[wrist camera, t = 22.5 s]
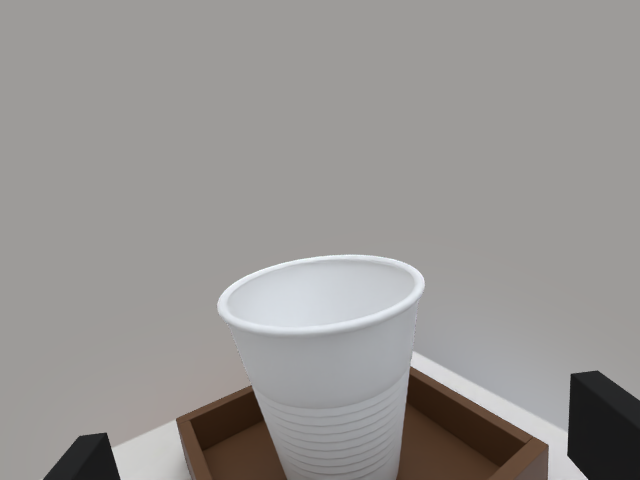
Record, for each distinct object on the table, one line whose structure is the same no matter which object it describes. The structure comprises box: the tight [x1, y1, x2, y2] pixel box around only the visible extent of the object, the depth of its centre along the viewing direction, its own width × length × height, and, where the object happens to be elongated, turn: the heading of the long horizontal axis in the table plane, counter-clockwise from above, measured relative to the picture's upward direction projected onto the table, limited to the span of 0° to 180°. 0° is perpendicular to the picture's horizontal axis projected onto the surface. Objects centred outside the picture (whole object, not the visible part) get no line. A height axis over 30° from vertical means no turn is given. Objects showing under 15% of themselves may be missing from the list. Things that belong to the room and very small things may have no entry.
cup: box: [217, 255, 425, 480], centre depth 18 cm, size 10×10×11 cm
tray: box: [176, 366, 549, 480], centre depth 19 cm, size 14×14×3 cm
